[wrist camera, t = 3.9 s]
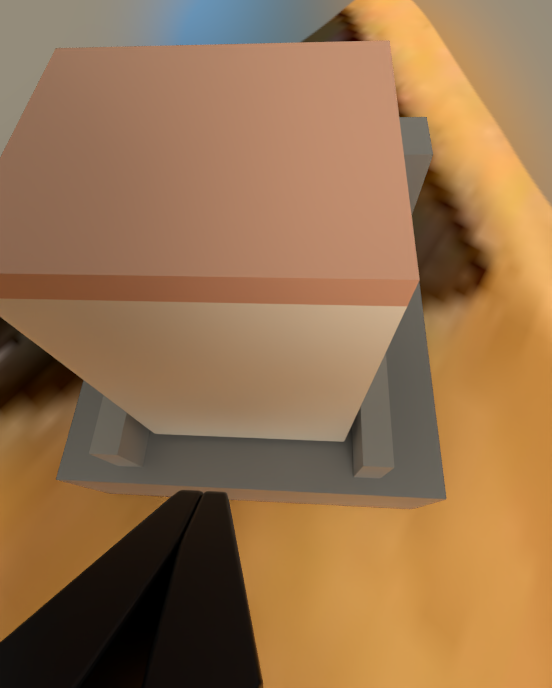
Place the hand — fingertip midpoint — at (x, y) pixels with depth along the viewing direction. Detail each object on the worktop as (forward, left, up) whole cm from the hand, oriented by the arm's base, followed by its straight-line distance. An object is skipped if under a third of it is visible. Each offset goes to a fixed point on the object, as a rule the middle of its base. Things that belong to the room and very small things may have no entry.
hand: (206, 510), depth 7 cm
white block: (+5, +2, -5) cm, 7 cm away
